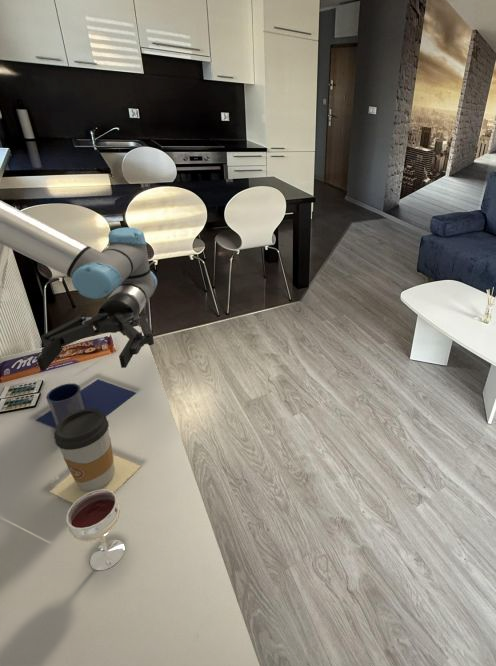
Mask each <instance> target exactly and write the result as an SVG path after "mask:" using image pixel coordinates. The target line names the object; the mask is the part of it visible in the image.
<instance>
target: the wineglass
mask: <svg viewBox="0 0 496 666" xmlns="http://www.w3.org/2000/svg"><path fill="white" fill-rule="evenodd" d="M120 513H121V508H120V503H119V502H118V499H117V495H116V494H115V492H112V491H110V490H104V489H101V490H95V491H92V492H90V493H87V494H85V495H84V496H82V497H81V498H79V499H78V500H77V501H76V502H75V503H72V505H71V506H70V507H69V509H68V510H67V513H66V515H65V516H66V517H65V518H66V524H67V525H68V530H69V532H70V534H71V535H72V537H73V538H74V539H76V540H78V541H80V542H92V541H96V540H99V541H100V543H101V544H100V545H99V546H97V548H96V549H95V550H94V551H93V552H92V553H91V556H90V560H89V563H90V564H89V565H90V567H91V568H92V569H93V570H95V571H105V570H108V569H110V568H112V567H113V566H114V565H116V564H117V563H118V562H119V561H120V560H121V559H122V557H123V555H124V553H125V544H124V542H123V541H122V540H120V539H111V540H107V541H106V538H105V536H106V535H107V534H108V533H110V532H111V531H112V529H114V527H115V526H116V524H117V523H118V520H119V517H120Z"/></svg>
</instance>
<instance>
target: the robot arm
mask: <svg viewBox="0 0 496 666" xmlns="http://www.w3.org/2000/svg"><path fill="white" fill-rule="evenodd" d="M107 237H108V244H109V246H108V247H107V248H105V249H104V250H102V251H99V250H97V249H95V248H93V247H91V246H89V245H87V244H85V243H83V242H82V241H79V240H78V239H75V238H73V237H72V236H70V235H68V234H66V233H64V232H62V231H61V230H59V229H57V228H54V227H53V226H51V225H49V224H47V223H45V222H43V221H41V220H39V219H37V218H36V217H33V216H32V215H30V214H27V213H26V212H24V211H22V210H20V209H18V208H16V207H14V206H12V205H10V204H8V203H6V202H4V201H3V200H1V199H0V245H2V246H4V247H6V248H8V249H10V250H12V251H15V252H17V253H19V254H20V255H22V256H25V257H26V258H29V259H31V260H34V261H35V262H37V263H39V264H41V265H43V266H45V267H47V268H50V269H52V270H53V271H55V272H58V273H59V274H62V275H64V276H65V277H68V278H70V279H71V284H72V287H73V288H74V289H75V290H76V291H77V292H78V294H79V295H81V296H83V297H84V298H87V299H93V300H98V299H99V300H100V299H103V298H105V297H107V296H108V297H107V299H105V300H104V302H103V303H102V305H100V306H99V309H98V311H97V314H95V315H93V316H87V317H86V314H85V313H80V314H78V315H77V316H76V317H75V318H73V319H72V320H69V321H67V322H65V323H64V324H62V325H60V326H58V327H57V326H56V328H54V329H52V330H50V331H48V332H46V333H43V334H42V335H41V336H40V337H41V340H42V343H43V344H42V345H43V347H42V349H41V353H40V354H39V355H38V356H37V358H36V361H37V364H38V367H39V370H40V372H42V371H47V369H48V368H49V367H50V365H51V364H52V363H53V362H54V361H55V360H56V358H57V357H58V356H59V355H60V353H61V352H62V351H63V347H66V346H68V345H70V344H72V343H75V342H77V341H80V340H83V339H85V338H87V337H89V336H91V337H95V336H97V335H99V334H106V333H109V334H110V333H111V334H117V333H120V334H122V335H123V336H126V337H127V338H128V341H127V343H126V344H125V345H124V348H123V349H122V351H121V352H120V354H119V356H118V358H119V362H120V368H121V369H126V368H127V366H128V365H129V363H130V361H131V359H132V357H133V356H134V355H138V354H139V353H140V351H141V349H142V348H143V347H144V346H145V345H148V346H153V345H155V340H154V334H153V330H152V329H151V327H150V325H149V319H148V318H149V317H148V313H145V312H144V313H141V312H142V311H143V309H144V308H145V306H146V305H147V303H148V301H149V300H150V298H151V297H152V296H153V295H154V293H155V290H156V289H157V286H158V278H157V276H156V274H155V273H154V272H153V271H151V267H150V262H149V255H148V247H147V245H148V243H147V241H146V238H145V234H144V231H142V229H140V228H137V227H119V228H115V229H112V230H111V231H109V233H108V235H107ZM135 324H136V325H138V327H139V328H140V329H141V331H138V330H137V329H136V328H135V327H134V325H135Z"/></svg>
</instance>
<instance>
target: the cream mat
mask: <svg viewBox="0 0 496 666" xmlns="http://www.w3.org/2000/svg"><path fill="white" fill-rule="evenodd" d="M113 459H114V467H115V473H114V476H113V478H112V480H111V481H110V482H109V483H108V484H107V485H106V486H104V487H102V488H101V489H104V490H110V491H112V492H114V493H116V492H117V491H118V490H119V489H120V488H121V487H122V486H123V485H124V484H125V483H126V482H127V481H128V480H129V479H130V478H131V477H132V476H133V475H134V474H136V472H137V471H138V470H139V469H140V468H142V466H141V465H139V464H138V463H135V462H132V461H130V460H127V459H125V458H123V457H120V456H118V455H115V454H113ZM101 489H98V490H101ZM90 492H92V491H84V490H82V489H80V488H79V487H78V485H77V483H76V481H75V480H74V478H73V476H72V474H71V473H70V474H69V475H68V476H67V477H65V478H64V479H63V480H62V481H60V482H59V483H57V485H56V486H54V487H53V489H51V490H49V493H51V494H53V495H55V496H57V497H59V498H61V499H63V500H65V501H67V502H69V503H72V504H74V503H75V502H76V501H77V500H78V499H79V498H81V497H82V496H84V495H85V494H87V493H90Z"/></svg>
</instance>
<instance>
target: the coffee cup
mask: <svg viewBox="0 0 496 666" xmlns="http://www.w3.org/2000/svg"><path fill="white" fill-rule="evenodd" d="M53 433H54V434H53V436H54V437H53V438H54V444H55V445H56V446H57V447H58V448H59V451H60V452H61V455H62V457H63V460H64V462H65V464H66V466H67V468H68V470H69V472H70V474H72V476H73V478H74V480H75V481H76V483H77V485H78V487H79V488H80V489H82V490H84V491H95V490H98V489H101V488H102V487H104V486H106V485H107V484H108V483H109V482H110V481H111V480H112V478H113V476H114V473H115V467H114V459H113V455H114V453H113V447H112V442H111V436H110V432H109V421H108V419H107V416H106V417H105V415H104V414H102V413H101V411H99V410H97V409H82V410H78V411H75V412H73V413H71V414H69V415H67V416H66V417H64V418H63V419H62V420H61V421H60V422H59V423H58V424H57V426H56V428H55V431H54V432H53Z"/></svg>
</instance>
